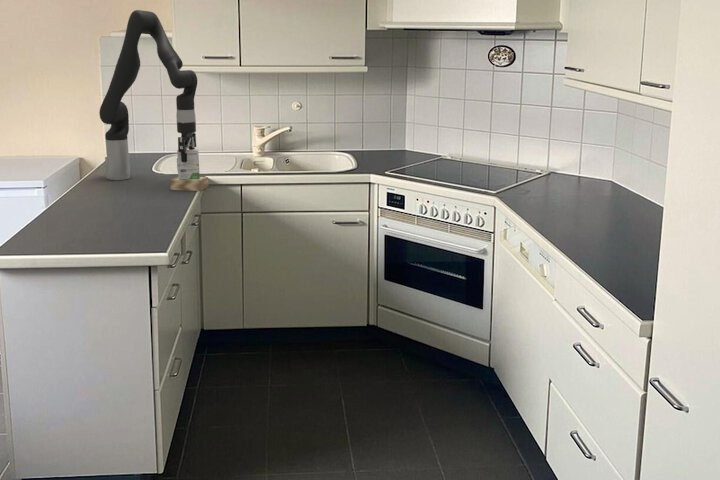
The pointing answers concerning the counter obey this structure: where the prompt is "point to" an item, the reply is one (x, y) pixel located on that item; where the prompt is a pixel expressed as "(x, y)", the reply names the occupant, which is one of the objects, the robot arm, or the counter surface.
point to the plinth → (189, 184)
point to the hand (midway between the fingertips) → (188, 160)
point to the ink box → (189, 165)
